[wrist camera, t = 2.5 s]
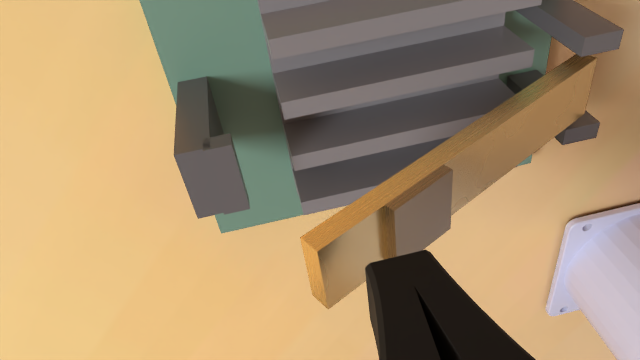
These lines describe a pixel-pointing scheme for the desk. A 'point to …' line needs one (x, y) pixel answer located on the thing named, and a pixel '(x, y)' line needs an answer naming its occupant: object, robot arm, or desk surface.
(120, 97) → the desk surface
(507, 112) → the bar
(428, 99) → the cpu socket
